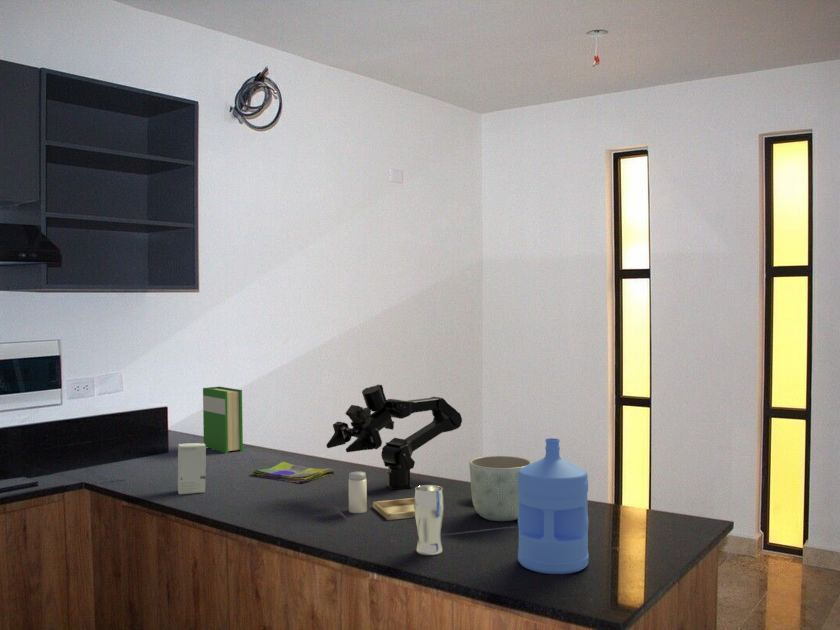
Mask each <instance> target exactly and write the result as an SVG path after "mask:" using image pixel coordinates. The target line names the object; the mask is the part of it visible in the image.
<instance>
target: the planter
mask: <svg viewBox="0 0 840 630" xmlns="http://www.w3.org/2000/svg"><path fill="white" fill-rule="evenodd" d="M468 463H469V476H470V489H471V492H470V493H471V500H472V505H473V508H474V510H475V511H476V513H477V514H478V515H479V516H480V517H481V518H483V519H485V520H489V521H492V522H493V521H494V522H495V521H496V522H512V521H516V520H518V472H519V470H520V469H521V468H523V467H525V466H527V465H529V464H532V463H533V462H532V461H531V460H529V458H524V457H520V456H519V457H518V456H511V455H490V456H489V455H488V456H479V457H475V458H472V459H470V460H469V462H468Z"/></svg>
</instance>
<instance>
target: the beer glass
mask: <svg viewBox="0 0 840 630" xmlns="http://www.w3.org/2000/svg"><path fill="white" fill-rule="evenodd" d="M414 490H415V491H414V498H415V500H414V509H415V517H414V519H415V522H416V523H415V524H416V527H417V528H416V529H417V545H416V553H418V554H419V555H423V556H435V555H440V554H441V553H442V552H443V545H442V539H441V531H442V525H443V521H444V514H445V513H444V511H445V510H444V509H445V505H444V504H445V503H444V502H445V501H444V488H443V486H440V485H437V484H436V485H435V484H423V485H419V486H415V488H414Z"/></svg>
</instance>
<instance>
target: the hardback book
mask: <svg viewBox="0 0 840 630" xmlns="http://www.w3.org/2000/svg"><path fill="white" fill-rule="evenodd" d="M202 405H203V406H202V408H203V409H202V410H203V411H202V413H203V416H202V417H203V421H202V422H203V443H204V444H205V445H206V447H208V448H211V449H214V450H217V451H216V452H218V451H220V452H219V453H222V452H224V453H223V454H225V453H227V454H229V452H231V451H238V450H239V451H238V452H243V451H244V447H243V446H244V445H243V443H244V440H243V437H244V436H243V431H244V430H243V429H244V428H243V390H242V389H238V388H230V387H225V386H210V387H203V388H202ZM211 449H210V450H211ZM214 450H213V451H214Z"/></svg>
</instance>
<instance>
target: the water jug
mask: <svg viewBox="0 0 840 630" xmlns="http://www.w3.org/2000/svg"><path fill="white" fill-rule="evenodd" d="M544 441H545V448H544V449H545V456H544V457H543V458H541V459H539V460H536V461H533V462H532V464H529V465H527V466H525V467H523V468H521V469H520V470H519V472H518V519H517V526H518V550H517V560H518V562H519V564H520V566H522V567H524V568H525V569H528V570H530V571H532V572H536V573H541V574H547V575H567V574H568V575H569V574H573V573H577V572H580V571H582V570H583V569H586V567H587V566H588V564H589V561H590V560H589V558H590V556H589V555H590V554H589V548H588V547H589V546H588V545H589V541H588V540H589V537H588V536H589V535H588V534H589V531H588V529H589V515H588V514H589V513H588V512H589V511H588V492H589V479H588V472H587V471H586V470H585V469H583V468H582V467H580V466H578V465H576V464H574V463H571V462H570V461H567V460H565V459H563V458H562V457H561V456H560V450H561V449H560V447H561V446H560V441H561V440H560V439H559V438H553V437H552V438H551V437H550V438H545V440H544Z"/></svg>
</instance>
